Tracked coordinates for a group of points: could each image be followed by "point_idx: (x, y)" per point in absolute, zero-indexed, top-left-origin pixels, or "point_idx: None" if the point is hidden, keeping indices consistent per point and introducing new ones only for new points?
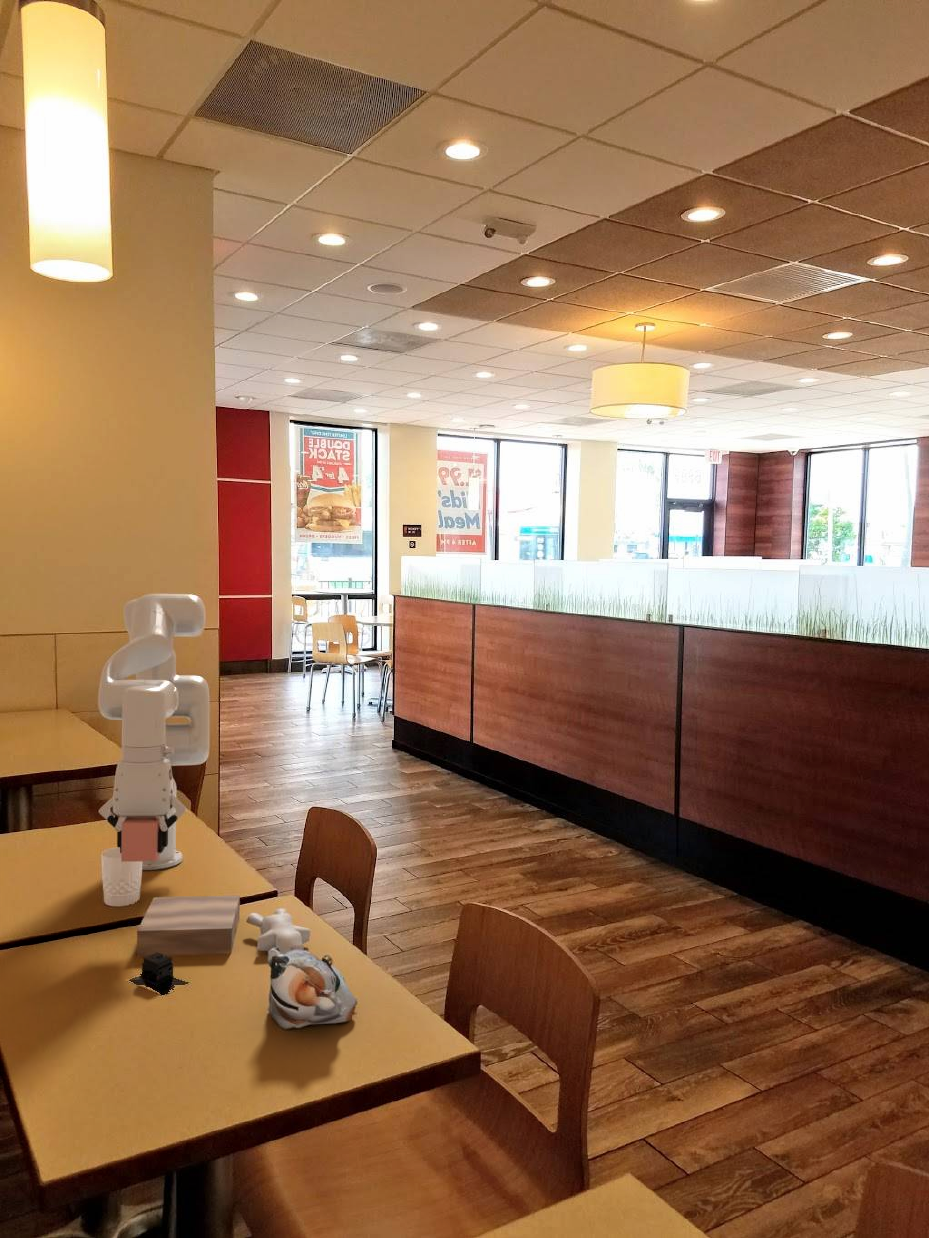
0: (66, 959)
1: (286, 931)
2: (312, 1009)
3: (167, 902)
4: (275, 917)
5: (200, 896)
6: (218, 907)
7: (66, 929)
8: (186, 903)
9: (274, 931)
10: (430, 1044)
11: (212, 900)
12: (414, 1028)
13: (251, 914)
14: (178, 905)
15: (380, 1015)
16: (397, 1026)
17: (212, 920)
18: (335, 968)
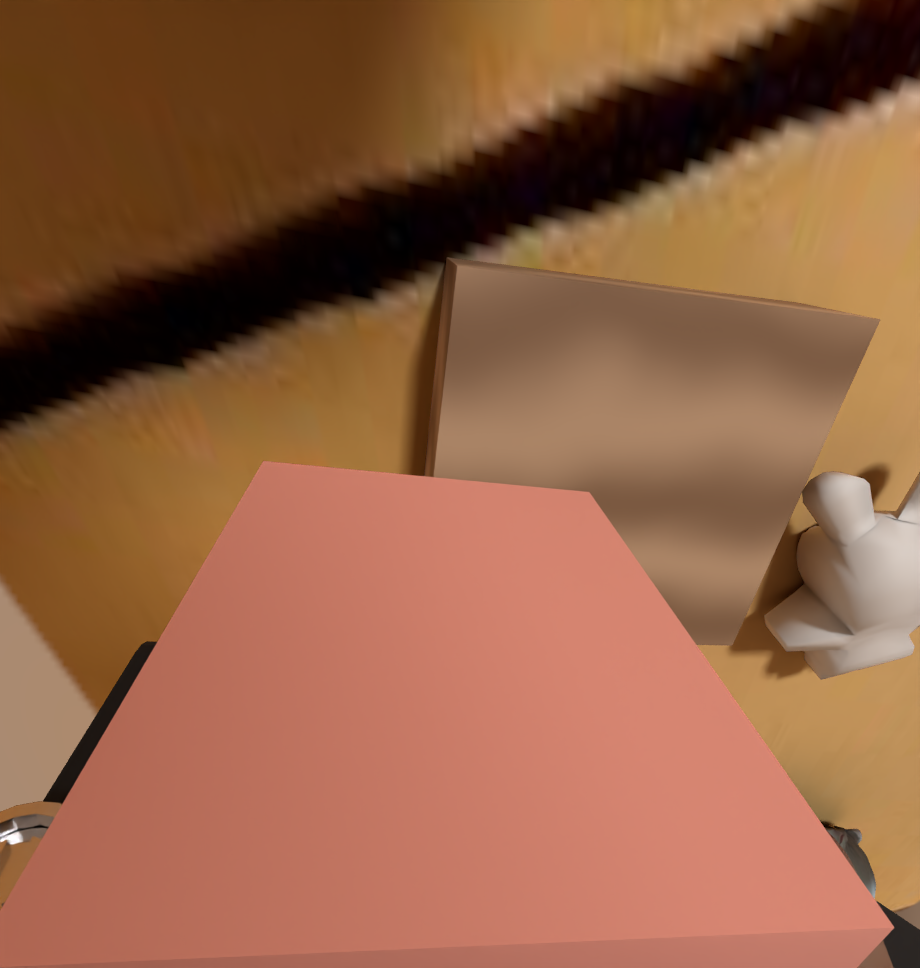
0: (185, 572)
1: (882, 643)
2: None
3: (528, 358)
4: (899, 595)
5: (697, 299)
6: (741, 459)
7: (58, 292)
8: (616, 388)
9: (849, 644)
10: (886, 891)
11: (739, 368)
12: (893, 862)
13: (840, 494)
14: (577, 408)
15: (868, 833)
16: (873, 857)
17: (686, 582)
18: (873, 895)
